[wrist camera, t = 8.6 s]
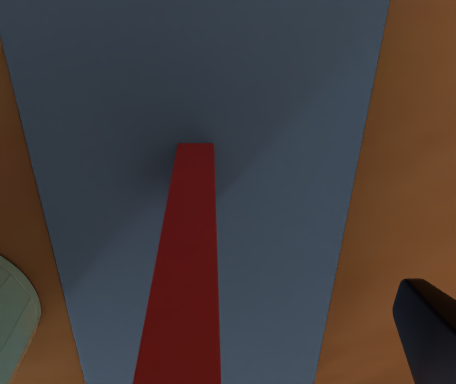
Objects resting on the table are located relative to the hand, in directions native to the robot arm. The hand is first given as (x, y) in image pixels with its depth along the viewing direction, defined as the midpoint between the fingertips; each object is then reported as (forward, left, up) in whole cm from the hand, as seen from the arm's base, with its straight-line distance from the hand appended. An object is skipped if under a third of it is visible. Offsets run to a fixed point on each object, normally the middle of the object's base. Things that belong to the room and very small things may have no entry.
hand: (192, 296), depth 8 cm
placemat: (-1, 0, -6) cm, 6 cm away
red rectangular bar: (0, 0, -6) cm, 6 cm away
